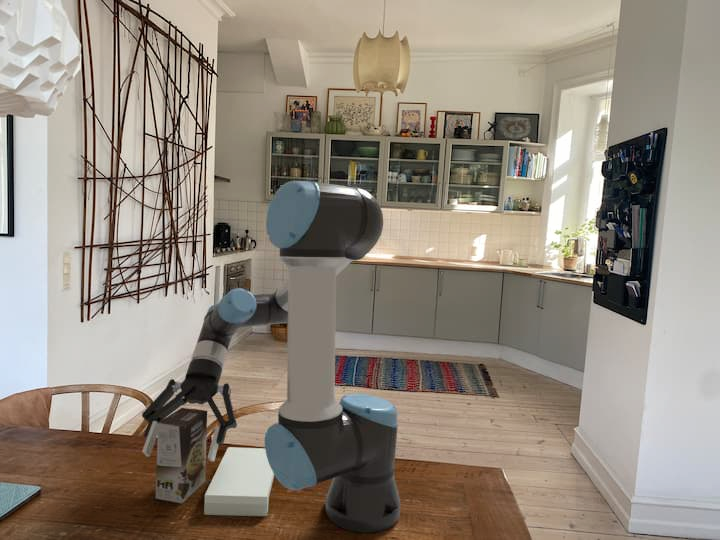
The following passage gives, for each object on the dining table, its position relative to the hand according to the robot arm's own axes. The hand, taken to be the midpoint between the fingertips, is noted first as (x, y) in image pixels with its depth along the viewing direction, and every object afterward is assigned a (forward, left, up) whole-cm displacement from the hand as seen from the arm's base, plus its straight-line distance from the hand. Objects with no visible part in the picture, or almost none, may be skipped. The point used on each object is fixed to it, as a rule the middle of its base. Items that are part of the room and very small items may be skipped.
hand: (178, 457), depth 99 cm
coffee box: (0, -1, -8) cm, 8 cm away
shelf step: (-13, -3, -8) cm, 16 cm away
